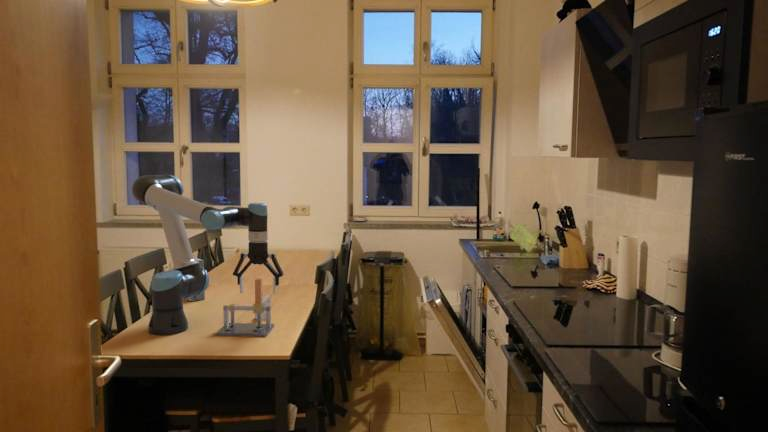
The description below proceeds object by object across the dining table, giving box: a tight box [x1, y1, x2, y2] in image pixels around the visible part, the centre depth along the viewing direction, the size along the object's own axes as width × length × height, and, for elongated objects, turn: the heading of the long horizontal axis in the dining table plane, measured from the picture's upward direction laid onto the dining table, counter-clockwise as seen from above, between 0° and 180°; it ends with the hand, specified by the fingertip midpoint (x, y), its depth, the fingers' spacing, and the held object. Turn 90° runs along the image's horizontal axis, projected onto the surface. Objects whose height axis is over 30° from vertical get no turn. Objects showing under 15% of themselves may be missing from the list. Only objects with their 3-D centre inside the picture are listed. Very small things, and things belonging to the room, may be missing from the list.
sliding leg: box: [252, 278, 265, 326], centre depth 223 cm, size 4×4×20 cm
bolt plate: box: [215, 322, 275, 338], centre depth 222 cm, size 20×13×1 cm, turn 88°
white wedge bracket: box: [254, 294, 272, 321], centre depth 241 cm, size 4×10×9 cm
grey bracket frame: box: [223, 303, 272, 328], centre depth 224 cm, size 19×2×9 cm, turn 88°
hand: (258, 293), depth 222 cm, fingers open, 13 cm apart
